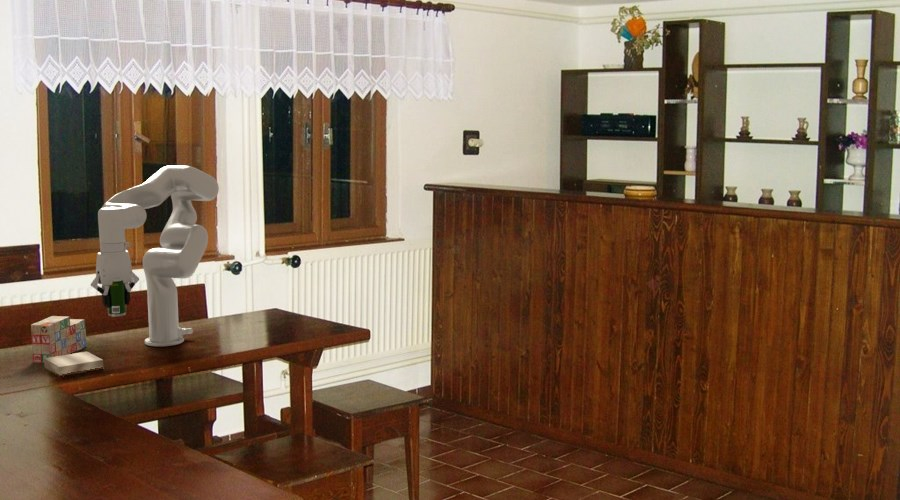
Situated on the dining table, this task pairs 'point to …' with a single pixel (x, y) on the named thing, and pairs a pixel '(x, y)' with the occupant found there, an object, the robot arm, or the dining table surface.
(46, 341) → the stack of blocks
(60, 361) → the birch base block
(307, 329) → the dining table surface
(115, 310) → the beer can
